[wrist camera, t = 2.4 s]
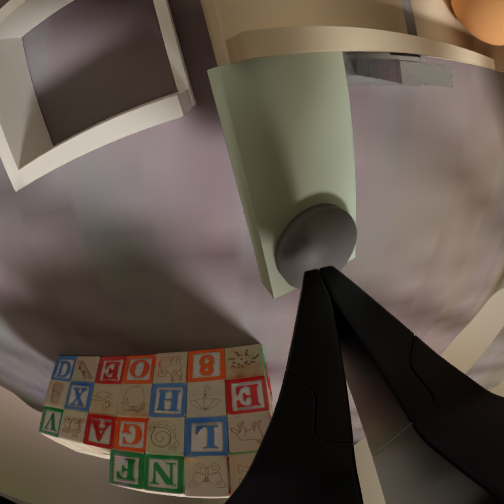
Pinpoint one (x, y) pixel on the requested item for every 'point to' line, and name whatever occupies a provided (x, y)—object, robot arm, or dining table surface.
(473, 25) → the ball
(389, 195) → the dining table surface
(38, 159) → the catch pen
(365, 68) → the fulcrum
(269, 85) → the lever
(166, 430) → the stack of blocks
